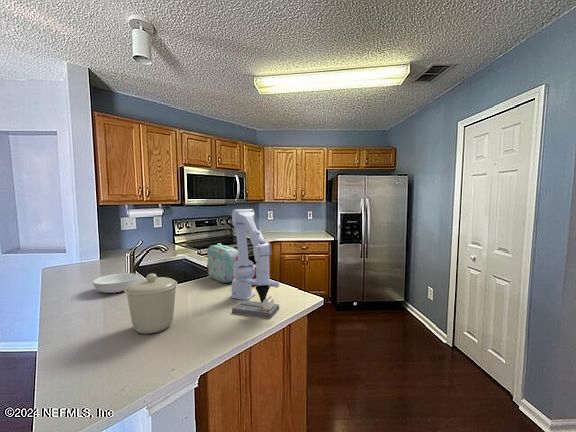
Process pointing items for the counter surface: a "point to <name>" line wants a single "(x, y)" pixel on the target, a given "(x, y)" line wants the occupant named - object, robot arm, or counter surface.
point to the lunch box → (221, 262)
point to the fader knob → (268, 303)
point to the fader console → (254, 309)
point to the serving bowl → (114, 282)
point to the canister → (151, 303)
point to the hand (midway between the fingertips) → (263, 301)
